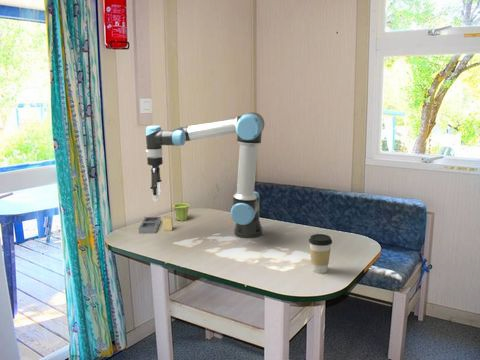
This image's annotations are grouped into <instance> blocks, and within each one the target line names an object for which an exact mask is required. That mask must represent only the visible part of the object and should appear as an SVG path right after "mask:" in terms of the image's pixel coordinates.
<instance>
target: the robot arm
mask: <svg viewBox="0 0 480 360" xmlns="http://www.w3.org/2000/svg"><path fill="white" fill-rule="evenodd" d="M264 128H265V120H264V118H263V116H262V115H260V114H259V113H257V112H248V113H245V114H243V115H238V116H236V117H235V118H232V119H231V118H230V119H225V120H219V121H212V122H206V123H199V124H195V125H193V124H192V125H187V126H179V127H178V128H177V127H176V128H174V129H169V130H168V129H167V130H166V129H165V130H164V129H162V127H161V125H149V126H147V127H145V140H146V141H145V142H146V143H145V144H146V150H145V153H147V154H146V156H147V158H146V160H147V165H148V166H152V167H151V169H150V171H151V173H150V174H151V176H150V177H151V182H150V183H151V185H150V190H151V195H152V202H159V195H162V188H161V183H162V181H163V180H162V179H161V172H160V170H161V168H160V166H161V165H163V163H164V161H163V157H162V156H163V146H173V147H174V146H175V147H178V146H185V144H186V142H191V141H196V140H201V139H202V140H203V139H210V138H217V137H223V136H231V135H236V134H237V136H236V142H237V143H238V145H239V149H238V150H239V152H238V153H239V154H238V167H237V184H236V192H235V194H233V196H232V197H233V198H232V207H231V209H230V216H231V219H232V221H233V222H235V225H234V226H235V227H234V230H233V231H234V232H233V233H234V235H235V236H236V237H240V238H245V239H253V238H258V237H261V236H262V235H263V232H264V231H263V226H262V223H261V220H260V198H261V197H260V194H259V192H258V191H256V190H255V183H256V173H257V171H256V169H257V158H258V157H257V156H258V147H259V145H260V144H261V143H262V134H263V131H264Z"/></svg>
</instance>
